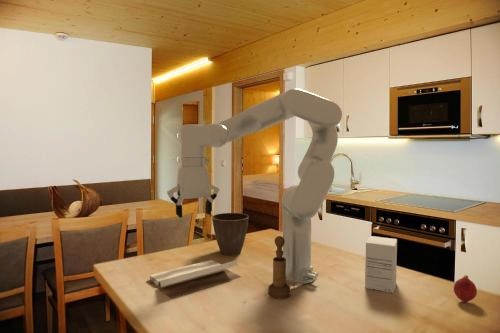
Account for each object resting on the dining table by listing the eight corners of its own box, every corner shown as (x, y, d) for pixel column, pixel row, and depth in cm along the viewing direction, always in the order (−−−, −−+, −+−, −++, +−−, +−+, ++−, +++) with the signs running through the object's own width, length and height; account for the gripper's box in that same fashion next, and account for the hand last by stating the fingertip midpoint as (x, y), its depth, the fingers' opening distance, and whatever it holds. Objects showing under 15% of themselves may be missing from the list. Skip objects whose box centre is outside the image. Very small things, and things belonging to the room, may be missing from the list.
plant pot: (204, 256, 146) (204, 217, 145) (227, 247, 158) (227, 211, 157) (234, 263, 137) (233, 222, 136) (255, 253, 150) (255, 215, 148)
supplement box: (368, 278, 123) (369, 235, 122) (396, 283, 119) (397, 238, 118) (363, 288, 115) (365, 242, 113) (394, 293, 111) (395, 245, 109)
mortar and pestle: (275, 301, 106) (275, 240, 104) (264, 292, 111) (264, 235, 110) (294, 296, 109) (294, 237, 107) (282, 288, 114) (283, 232, 113)
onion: (476, 308, 101) (477, 280, 100) (452, 303, 104) (453, 276, 103) (476, 300, 106) (477, 274, 105) (453, 296, 109) (454, 270, 108)
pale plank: (237, 265, 121) (236, 260, 121) (172, 283, 106) (171, 277, 106) (224, 269, 127) (223, 264, 127) (161, 287, 112) (160, 281, 112)
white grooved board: (241, 280, 121) (241, 272, 121) (171, 302, 105) (171, 293, 104) (213, 266, 134) (213, 259, 134) (147, 284, 118) (146, 275, 117)
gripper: (214, 161, 123) (214, 210, 125) (163, 163, 115) (164, 215, 117) (222, 162, 117) (223, 214, 118) (170, 164, 109) (171, 220, 110)
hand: (194, 215), depth 117 cm, fingers open, 9 cm apart
